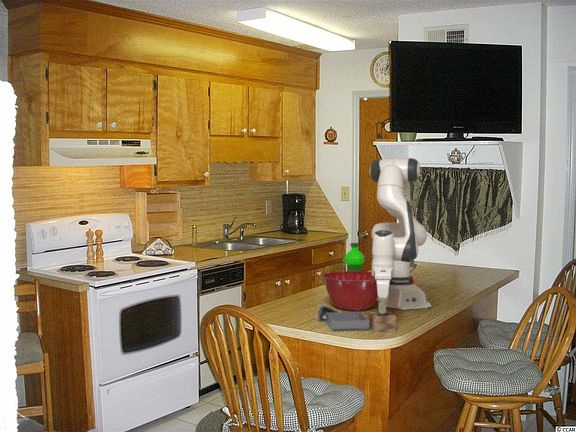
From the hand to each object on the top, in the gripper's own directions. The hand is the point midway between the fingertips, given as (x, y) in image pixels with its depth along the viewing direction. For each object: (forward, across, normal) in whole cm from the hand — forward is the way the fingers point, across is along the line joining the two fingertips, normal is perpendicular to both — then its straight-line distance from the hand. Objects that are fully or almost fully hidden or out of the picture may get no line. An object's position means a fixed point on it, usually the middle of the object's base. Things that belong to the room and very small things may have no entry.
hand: (382, 305), depth 253 cm
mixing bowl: (+10, -36, -13) cm, 39 cm away
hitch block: (+10, 0, 0) cm, 10 cm away
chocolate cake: (+10, -12, -22) cm, 27 cm away
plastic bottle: (+10, -78, -14) cm, 80 cm away
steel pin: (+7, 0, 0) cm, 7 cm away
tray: (+10, -2, -14) cm, 17 cm away
